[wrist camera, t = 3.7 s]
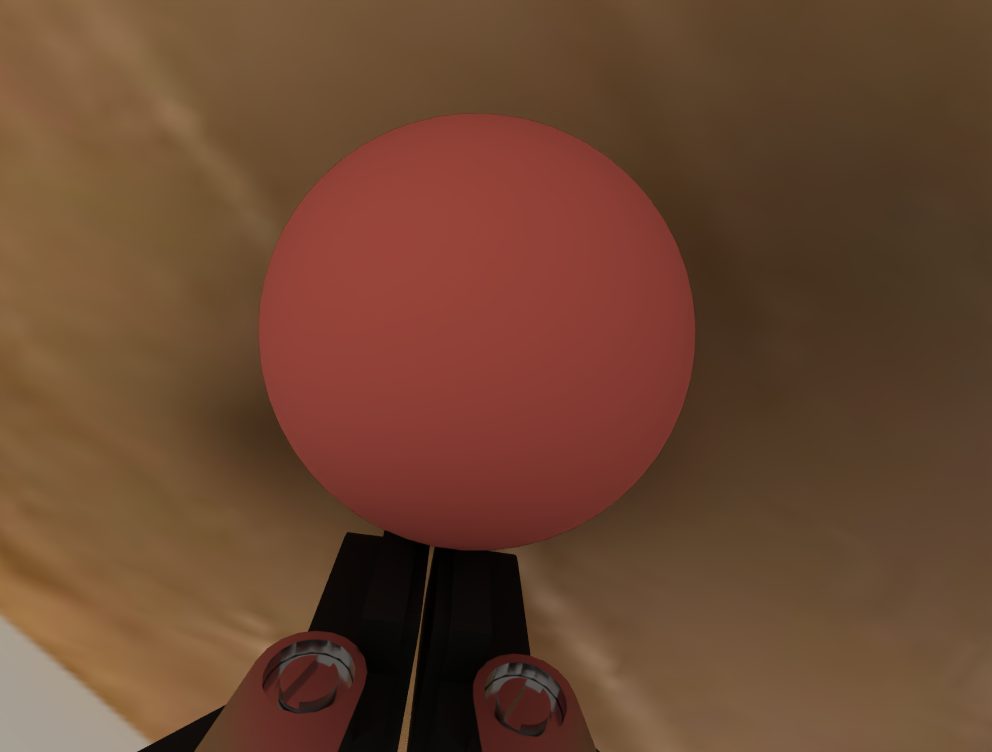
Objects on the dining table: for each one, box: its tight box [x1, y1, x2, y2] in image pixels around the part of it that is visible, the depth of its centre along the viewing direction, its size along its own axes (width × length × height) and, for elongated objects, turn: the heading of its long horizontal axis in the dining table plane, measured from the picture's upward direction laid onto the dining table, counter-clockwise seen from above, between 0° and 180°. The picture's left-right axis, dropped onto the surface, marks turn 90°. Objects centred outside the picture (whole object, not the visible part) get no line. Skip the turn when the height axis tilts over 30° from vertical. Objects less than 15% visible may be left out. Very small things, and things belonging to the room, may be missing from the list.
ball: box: [259, 113, 695, 550], centre depth 8 cm, size 6×6×6 cm
